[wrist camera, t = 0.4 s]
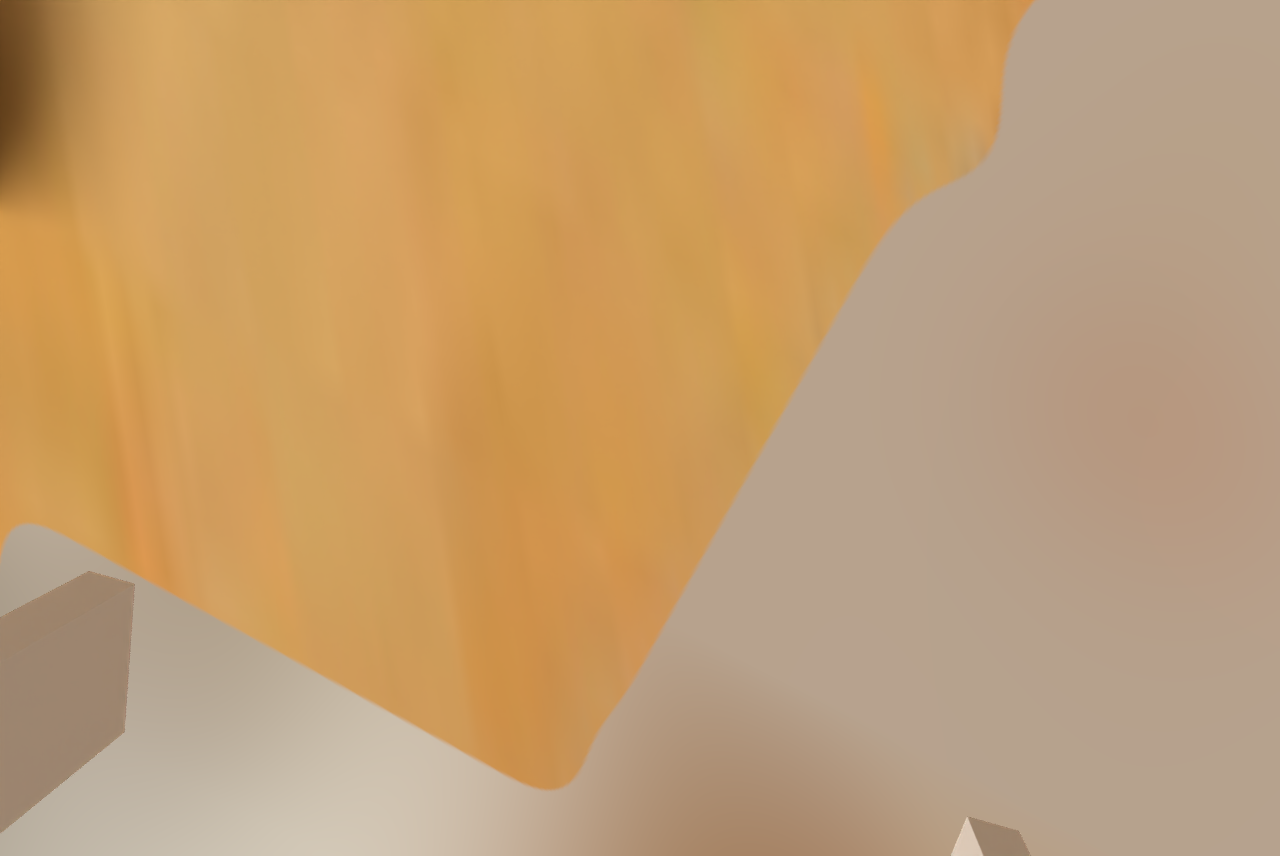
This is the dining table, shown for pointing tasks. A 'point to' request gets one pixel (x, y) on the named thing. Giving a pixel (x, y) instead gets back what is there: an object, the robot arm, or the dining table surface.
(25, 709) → the robot arm
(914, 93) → the dining table surface
